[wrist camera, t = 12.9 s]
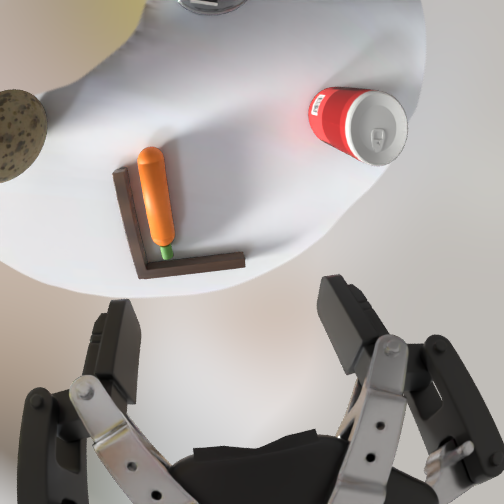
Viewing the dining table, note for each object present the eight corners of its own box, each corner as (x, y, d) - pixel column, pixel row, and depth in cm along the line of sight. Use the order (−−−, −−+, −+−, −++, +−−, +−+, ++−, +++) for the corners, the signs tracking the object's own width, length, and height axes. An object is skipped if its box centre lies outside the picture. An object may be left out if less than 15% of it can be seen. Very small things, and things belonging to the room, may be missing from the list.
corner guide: (115, 169, 31) (111, 173, 30) (239, 153, 33) (241, 156, 32) (140, 272, 40) (138, 279, 38) (243, 260, 42) (245, 267, 41)
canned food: (315, 150, 35) (356, 176, 26) (298, 94, 30) (339, 99, 21) (362, 135, 34) (412, 156, 25) (349, 81, 30) (401, 85, 21)
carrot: (136, 147, 30) (135, 152, 27) (161, 142, 31) (163, 146, 28) (155, 252, 38) (157, 265, 36) (177, 248, 39) (180, 260, 37)
